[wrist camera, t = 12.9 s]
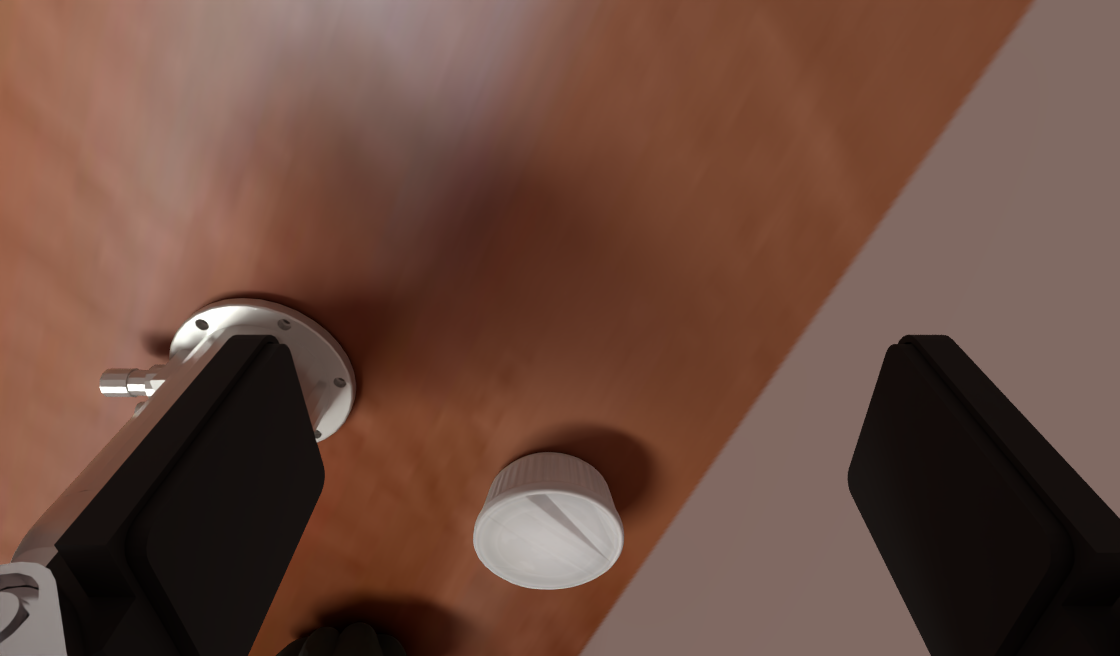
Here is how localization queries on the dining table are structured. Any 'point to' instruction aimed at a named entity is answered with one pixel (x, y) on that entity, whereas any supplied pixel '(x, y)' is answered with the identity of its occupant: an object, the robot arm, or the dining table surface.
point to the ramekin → (548, 523)
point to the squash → (345, 643)
